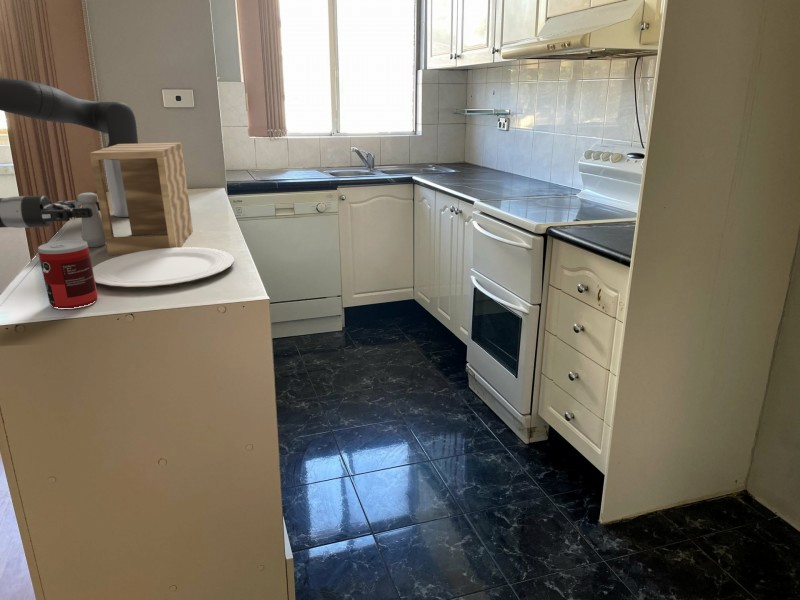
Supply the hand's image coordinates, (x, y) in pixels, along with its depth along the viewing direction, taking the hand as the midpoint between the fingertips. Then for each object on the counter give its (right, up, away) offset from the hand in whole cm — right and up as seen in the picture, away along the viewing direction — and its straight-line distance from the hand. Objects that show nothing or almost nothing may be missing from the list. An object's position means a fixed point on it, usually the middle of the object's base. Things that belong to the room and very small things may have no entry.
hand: (97, 209), depth 147 cm
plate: (+24, -17, -19) cm, 35 cm away
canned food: (+15, -23, -38) cm, 47 cm away
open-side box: (+12, -8, +5) cm, 15 cm away
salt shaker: (-2, -9, +3) cm, 9 cm away
